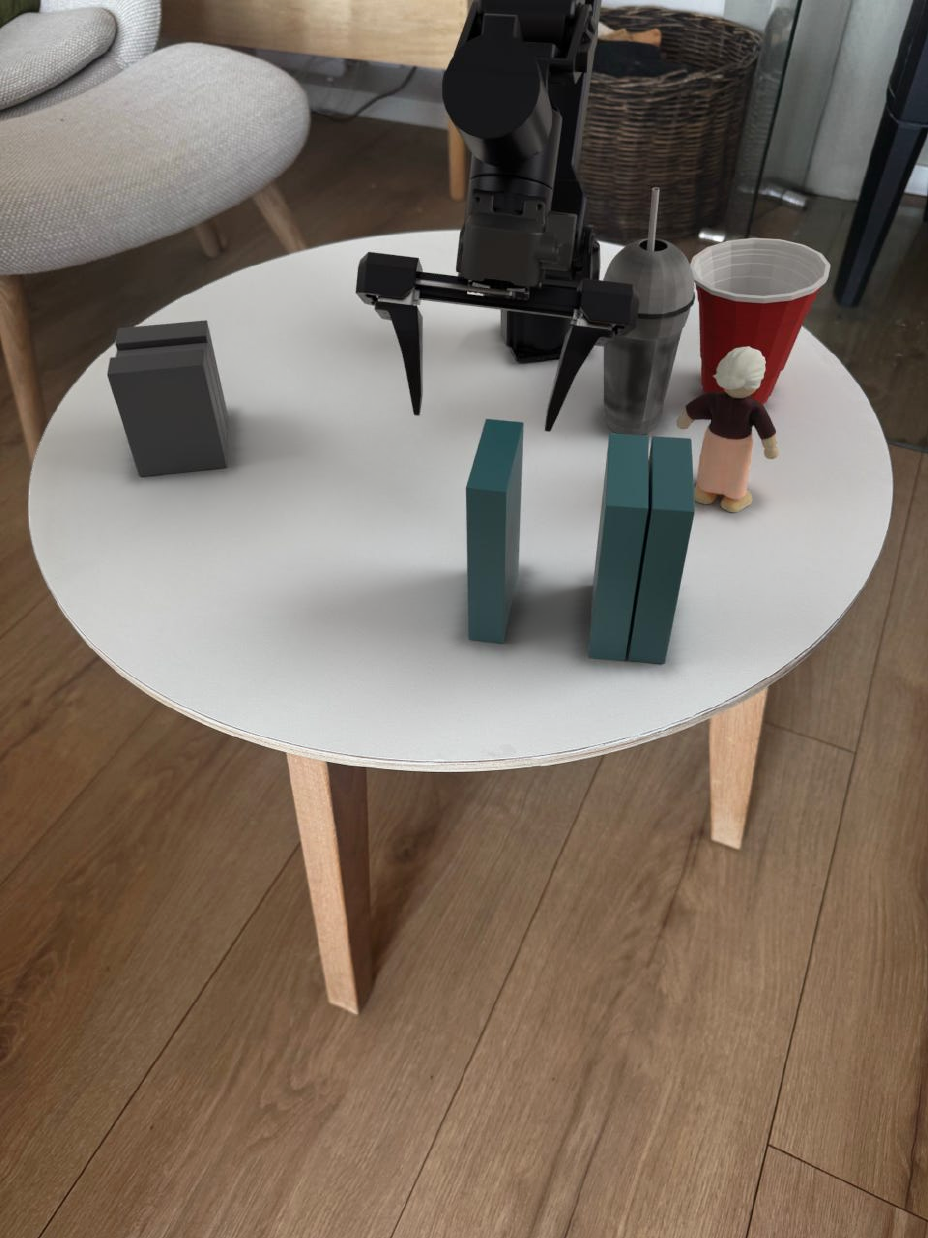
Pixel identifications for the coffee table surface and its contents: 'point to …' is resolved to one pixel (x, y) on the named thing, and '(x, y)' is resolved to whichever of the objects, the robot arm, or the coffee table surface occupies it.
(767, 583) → the coffee table surface
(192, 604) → the coffee table surface
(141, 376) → the grey books
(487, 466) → the teal book
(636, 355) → the beverage cup
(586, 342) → the robot arm
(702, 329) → the plastic cup
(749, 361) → the grandmother figurine
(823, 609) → the coffee table surface
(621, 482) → the teal books
